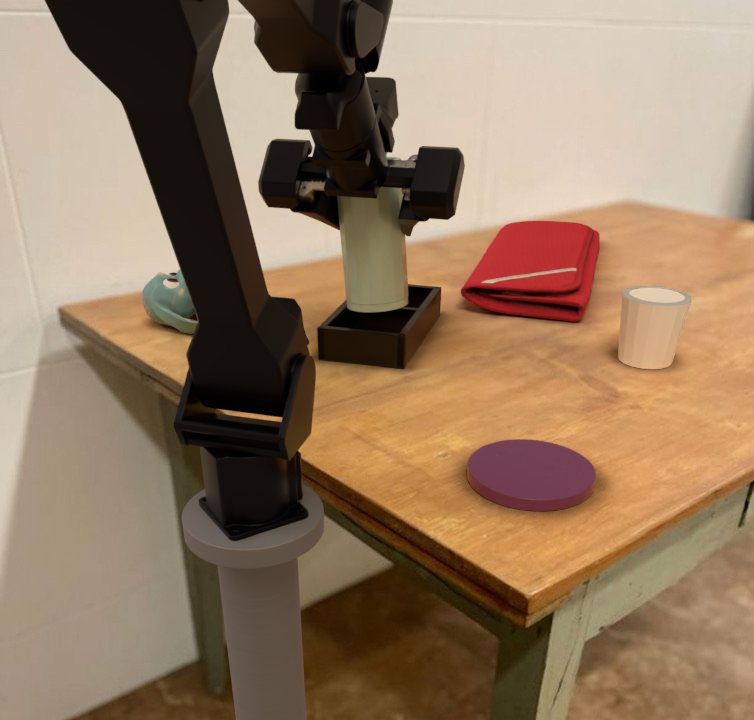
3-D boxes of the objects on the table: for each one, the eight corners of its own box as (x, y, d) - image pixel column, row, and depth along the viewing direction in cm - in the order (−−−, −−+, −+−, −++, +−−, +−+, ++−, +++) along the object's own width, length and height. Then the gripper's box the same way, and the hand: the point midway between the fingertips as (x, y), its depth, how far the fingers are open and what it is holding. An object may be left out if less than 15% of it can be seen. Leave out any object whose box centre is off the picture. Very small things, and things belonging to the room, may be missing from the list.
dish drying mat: (600, 243, 130) (604, 218, 128) (586, 324, 96) (591, 292, 94) (502, 236, 133) (504, 212, 131) (455, 312, 100) (457, 281, 98)
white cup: (633, 343, 91) (644, 280, 87) (690, 359, 87) (704, 294, 83) (599, 359, 87) (609, 294, 83) (657, 376, 83) (671, 309, 79)
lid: (524, 525, 59) (526, 513, 58) (441, 469, 66) (442, 458, 65) (621, 488, 63) (623, 477, 63) (534, 439, 71) (535, 429, 70)
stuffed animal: (249, 289, 89) (136, 270, 87) (242, 351, 92) (133, 334, 90) (253, 263, 98) (151, 245, 96) (246, 320, 101) (147, 304, 99)
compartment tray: (403, 369, 84) (404, 336, 82) (317, 359, 86) (316, 327, 84) (440, 315, 99) (441, 286, 97) (365, 308, 101) (365, 280, 99)
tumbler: (396, 313, 82) (387, 162, 75) (337, 312, 84) (323, 165, 77) (416, 297, 87) (409, 155, 81) (360, 297, 89) (349, 158, 83)
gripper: (468, 44, 68) (480, 166, 83) (261, 40, 72) (308, 157, 87) (444, 160, 66) (461, 263, 81) (232, 148, 70) (285, 249, 85)
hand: (376, 229), depth 83 cm, fingers closed on tumbler, 7 cm apart
